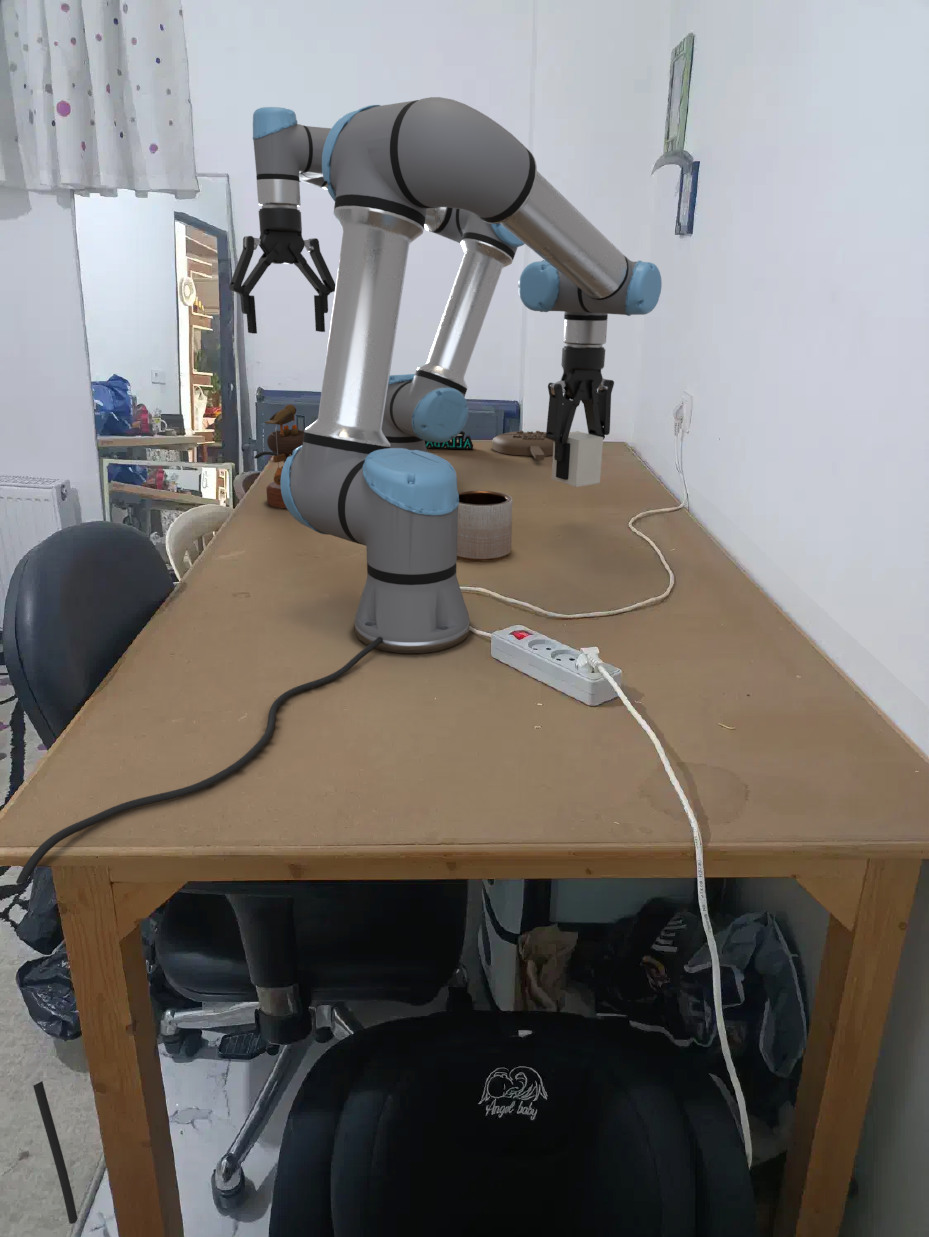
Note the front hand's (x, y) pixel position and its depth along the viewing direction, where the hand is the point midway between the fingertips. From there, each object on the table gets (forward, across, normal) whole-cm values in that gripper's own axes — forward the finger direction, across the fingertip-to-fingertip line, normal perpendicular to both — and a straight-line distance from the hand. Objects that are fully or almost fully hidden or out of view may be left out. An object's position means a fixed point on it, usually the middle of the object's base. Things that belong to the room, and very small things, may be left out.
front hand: (575, 475), depth 157 cm
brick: (+1, 0, 0) cm, 1 cm away
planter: (+10, +24, +4) cm, 27 cm away
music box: (+10, +38, -44) cm, 59 cm away
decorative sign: (+10, -18, -78) cm, 81 cm away
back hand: (-24, +38, -41) cm, 61 cm away
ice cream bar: (+10, -36, -59) cm, 70 cm away
